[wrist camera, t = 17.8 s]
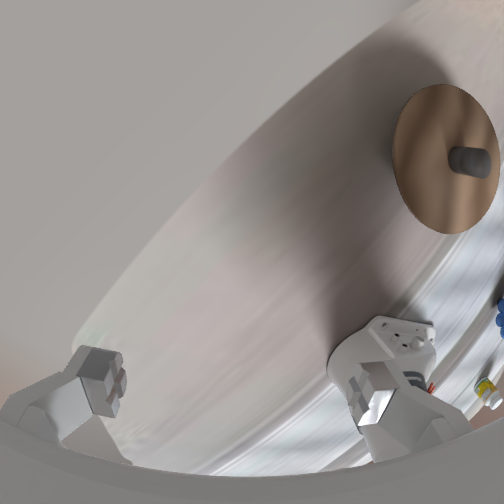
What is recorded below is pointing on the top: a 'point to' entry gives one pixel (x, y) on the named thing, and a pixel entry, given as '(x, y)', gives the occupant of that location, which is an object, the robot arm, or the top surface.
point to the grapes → (501, 317)
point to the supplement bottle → (488, 393)
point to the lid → (446, 158)
